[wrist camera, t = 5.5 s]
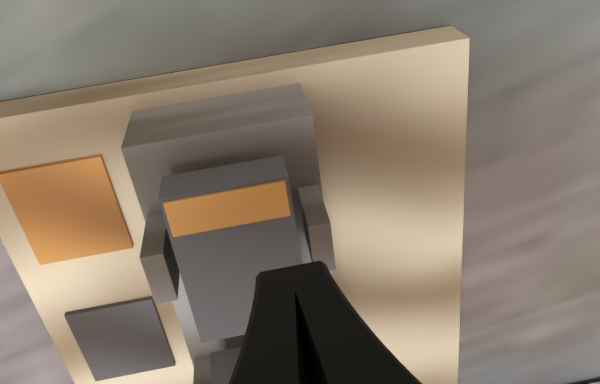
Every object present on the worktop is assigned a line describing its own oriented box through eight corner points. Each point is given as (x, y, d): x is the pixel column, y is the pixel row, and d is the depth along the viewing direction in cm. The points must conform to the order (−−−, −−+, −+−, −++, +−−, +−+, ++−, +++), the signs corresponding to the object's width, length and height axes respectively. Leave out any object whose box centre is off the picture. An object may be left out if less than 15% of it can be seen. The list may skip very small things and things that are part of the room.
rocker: (305, 294, 17) (311, 322, 16) (201, 314, 17) (201, 344, 16) (282, 155, 15) (288, 177, 14) (162, 176, 15) (157, 200, 13)
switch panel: (445, 396, 29) (496, 513, 23) (132, 460, 28) (115, 596, 23) (451, 25, 19) (543, 90, 13) (-37, 108, 18) (-137, 210, 13)
